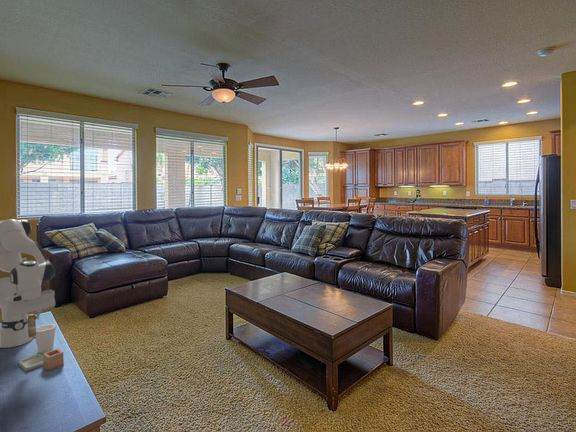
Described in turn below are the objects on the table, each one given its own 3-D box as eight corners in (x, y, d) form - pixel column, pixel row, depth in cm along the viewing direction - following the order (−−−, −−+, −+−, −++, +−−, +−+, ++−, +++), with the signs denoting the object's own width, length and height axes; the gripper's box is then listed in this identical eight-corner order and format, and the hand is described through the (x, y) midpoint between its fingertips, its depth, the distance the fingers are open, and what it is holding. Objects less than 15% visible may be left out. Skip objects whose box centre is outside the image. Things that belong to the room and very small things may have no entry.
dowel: (27, 336, 158) (26, 315, 157) (34, 334, 161) (33, 313, 160) (29, 338, 156) (28, 316, 156) (37, 335, 159) (36, 314, 158)
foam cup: (44, 355, 168) (43, 332, 167) (30, 353, 170) (29, 330, 169) (60, 347, 177) (59, 324, 176) (47, 345, 179) (46, 323, 178)
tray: (18, 363, 159) (17, 360, 159) (39, 356, 167) (39, 353, 167) (26, 371, 153) (26, 368, 153) (48, 363, 160) (48, 360, 160)
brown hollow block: (43, 367, 157) (43, 353, 156) (58, 361, 162) (57, 348, 162) (48, 371, 153) (48, 357, 153) (63, 365, 159) (63, 352, 158)
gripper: (52, 287, 167) (53, 312, 168) (1, 297, 150) (3, 325, 151) (56, 289, 164) (58, 315, 165) (6, 300, 147) (7, 328, 148)
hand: (31, 320), depth 158 cm, fingers closed on dowel, 3 cm apart
